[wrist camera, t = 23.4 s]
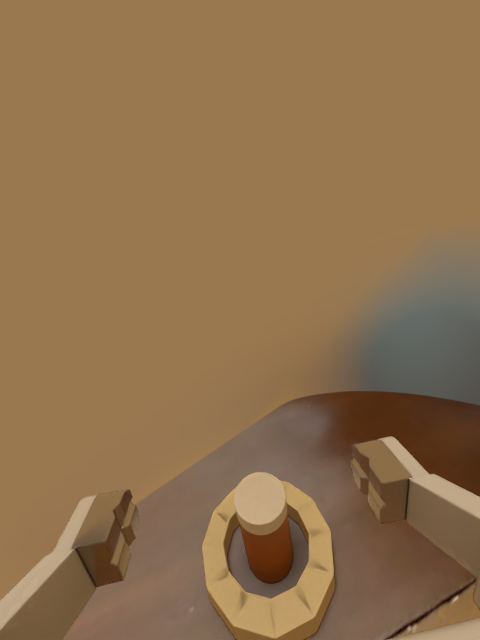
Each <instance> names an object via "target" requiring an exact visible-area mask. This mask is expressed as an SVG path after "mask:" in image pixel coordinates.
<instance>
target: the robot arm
mask: <svg viewBox="0 0 480 640" xmlns="http://www.w3.org/2000/svg"><path fill="white" fill-rule="evenodd" d="M351 454H352V455H353V457H354V458H353V460H352V461H351V470H352V473H353V477H354V479H355V482H356V484H357V486H358V487H359V489H360V491H361V492H363V493H364V494H366V495H367V496H368V505H369V506H370V508H371V510H372V511H373V513H374V515H375V516H376V518H377V520H378V521H379V523H380V525H381V524H387V523H392V522H398V521H403V520H406V522H407V523H408V524H410V525H411V526H412V527H413V528H415V529H416V530H417V531H418V532H420V533H421V534H422V535H424V536H425V537H426V538H427V539H429V540H430V541H431V542H432V543H434V544H435V545H436V546H437V547H439V548H440V549H441V550H443V551H444V552H445V553H446V554H448V555H449V556H450V557H451V558H453V559H454V560H455V561H456V562H458V563H459V564H460V565H462V566H463V567H464V568H465V569H467V570H468V571H469V572H470V573H472V574H473V575H474V576H475V577H477V580H476V584H475V589H474V593H473V601H474V603H475V604H476V605H477V607H478V608H479V610H480V497H479V496H477V495H475V494H473V493H471V492H469V491H467V490H465V489H463V488H461V487H459V486H457V485H455V484H453V483H451V482H449V481H447V480H445V479H443V478H441V477H439V476H437V475H435V474H429V473H428V472H427V471H426V470H425V469H424V468H423V467H422V466H421V465H420V464H419V463H418V462H417V461H416V460H415V459H414V457H413V456H412V455H411V454H410V453H409V452H408V451H407V450H406V449H405V448H404V447H403V446H402V445H401V444H400V443H399V442H398V441H397V439H396V438H394V437H392V436H391V437H386V438H381V439H375V440H370V441H365V442H361V443H356V444H352V446H351ZM131 500H132V494H131V492H130V490H122V491H116V492H110V493H104V494H98V495H94V496H88V497H84V498H83V499H82V500H81V501H80V502H79V503H78V505H77V507H76V509H75V511H74V513H73V515H72V516H71V519H70V520H69V523H68V524H67V526H66V528H65V530H64V532H63V533H62V535H61V537H60V539H59V541H58V543H57V545H56V547H55V549H54V550H53V552H52V553H51V554H47V555H46V556H45V557H44V558H43V559H42V560H41V561H40V562H39V563H38V564H37V565H36V566H35V567H34V568H33V569H32V570H31V571H30V572H29V573H28V574H27V575H26V576H25V577H24V578H23V579H22V580H21V581H20V582H19V583H18V584H17V585H16V586H15V587H14V588H13V589H12V590H11V591H10V592H9V593H8V594H7V595H6V596H5V597H4V598H3V599H2V600H1V601H0V640H62V639H63V638H64V636H65V635H66V633H67V632H68V630H69V629H70V627H71V626H72V624H73V623H74V621H75V620H76V618H77V617H78V615H79V614H80V612H81V611H82V609H83V608H84V606H85V605H86V604H87V602H88V601H89V599H90V598H91V596H92V595H93V593H94V592H95V590H96V588H95V587H99V586H103V585H107V584H111V583H115V582H119V581H123V580H124V578H125V575H126V571H127V567H128V564H129V560H130V556H131V553H130V550H129V546H130V545H131V543H132V542H133V541H134V539H135V538H136V534H137V530H138V522H139V515H138V509H137V507H136V505H135V504H133V503H131ZM388 640H480V617H479V618H475V619H471V620H467V621H462V622H458V623H454V624H450V625H446V626H442V627H437V628H433V629H429V630H425V631H421V632H417V633H413V634H408V635H404V636H400V637H396V638H392V639H388Z"/></svg>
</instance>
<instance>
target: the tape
mask: <svg viewBox="0 0 480 640" xmlns="http://www.w3.org/2000/svg"><path fill="white" fill-rule="evenodd" d="M280 482H281V484H282V485H283V487H284V490H285V494H286V501H287V515H288V516H289V517H290V518H291V519H293V520H294V521H295V522H296V523H298V524H299V525H300V527H301V529H302V531H303V534H304V536H305V538H306V540H307V542H308V544H309V562H308V564H307V566H306V568H305V569H304V571H303V573H302V575H301V577H300V579H299V581H298V583H297V585H296V586H295V587H293V588H291V589H289V590H287V591H285V592H283V593H281V594H279V595H277V596H275V597H273V598H267V597H263V596H259V595H255V594H251V593H248V592H245V591H244V589H243V588H242V587H241V586H240V584H239V583H238V582H237V581H236V580H235V578H234V577H233V576H232V575H231V573H230V571H229V565H228V560H227V554H228V550H229V546H230V542H231V538H232V533H233V532H234V530H235V529H236V528H237V527H238V525H239V524H240V523H239V521H238V518H237V515H236V510H235V506H234V494H235V490H236V488H235V489H233V490H232V491H231V493H230V494H229V495H228V496H227V497H226V498H225V499H224V500H223V501H222V502H221V503H220V505H219V506H218V507H217V508H216V509H215V510H214V512H213V514H212V517H211V520H210V523H209V526H208V529H207V533H206V536H205V539H204V542H203V545H202V551H203V560H204V570H205V579H206V588H207V591H208V594H209V597H210V600H211V602H212V604H213V606H214V607H215V609H216V610H217V612H218V613H219V615H220V616H221V618H222V619H223V621H224V622H225V624H226V625H227V627H228V628H229V629H230V631H231V632H232V634H233V635H234V637H235V638H236V639H237V640H304V639H306V638H307V637H309V636H311V635H313V634H315V633H316V631H317V630H318V628H319V626H320V623H321V621H322V618H323V616H324V614H325V611H326V609H327V607H328V604H329V602H330V600H331V597H332V595H333V593H334V590H335V580H334V566H333V553H332V541H331V532H330V529H329V527H328V526H327V524H326V522H325V520H324V519H323V517H322V515H321V513H320V512H319V510H318V508H317V506H316V505H315V503H314V501H313V500H312V498H310V497H309V496H307V495H306V494H304V493H303V492H302V491H300V490H299V489H297V488H296V487H294V486H293V485H291V484H290V483H288V482H285V481H280Z"/></svg>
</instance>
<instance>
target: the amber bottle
mask: <svg viewBox="0 0 480 640" xmlns="http://www.w3.org/2000/svg"><path fill="white" fill-rule="evenodd" d="M234 506H235V510H236V515H237V518H238V521H239V523H240V528H241V532H242V536H243V540H244V545H245V549H246V553H247V558H248V562H249V565H250V568H251V570H252V572H253V573H254V575H255V576H256V577H257V578H259V579H260V580H262V581H264V582H267V583H276V582H279V581H280V580H282V579H283V578H284V577H285V576H286V575H287V574H288V573H289V571H290V569H291V566H292V561H293V551H292V544H291V537H290V529H289V522H288V515H287V501H286V494H285V490H284V487H283V485H282V484H281V482H280V481H279V480H278V479H277V478H276V477H275V476H273V475H271V474H268V473H265V472H257V473H253V474H250V475H248V476H246V477H245V478H244V479H243V480H242V481H241V482H240V483H239V484H238V486H237V488H236V490H235V494H234Z"/></svg>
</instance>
